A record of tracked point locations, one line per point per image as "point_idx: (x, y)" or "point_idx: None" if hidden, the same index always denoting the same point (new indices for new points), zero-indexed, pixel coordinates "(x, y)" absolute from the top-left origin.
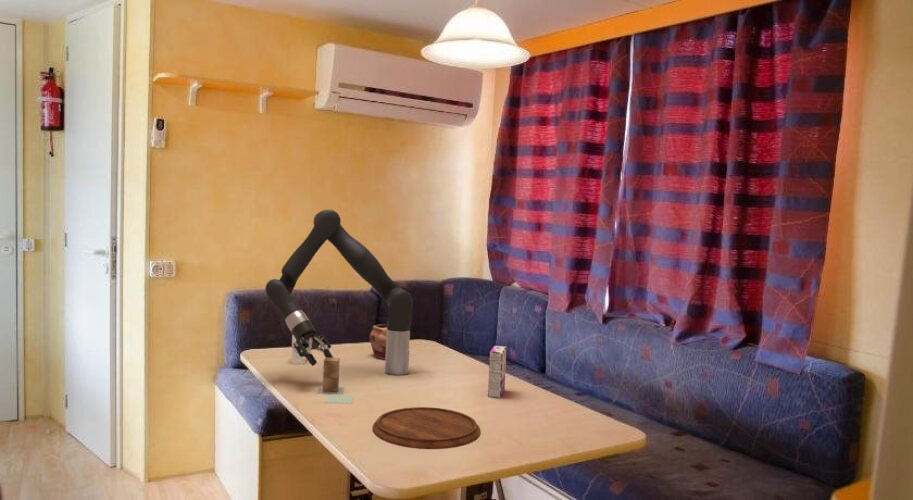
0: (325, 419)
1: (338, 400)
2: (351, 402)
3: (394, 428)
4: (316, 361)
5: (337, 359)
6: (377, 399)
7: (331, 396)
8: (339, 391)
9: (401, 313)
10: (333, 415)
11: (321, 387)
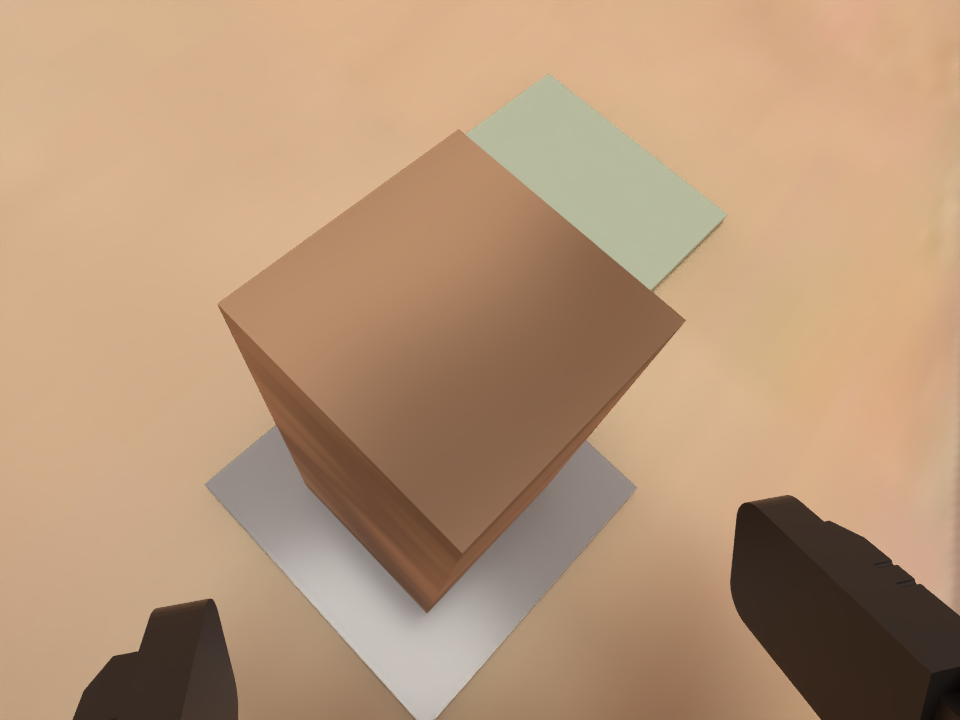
0: (875, 9)
1: (597, 179)
2: (544, 84)
3: None
4: (758, 502)
5: (381, 222)
6: (287, 43)
7: None
8: None
9: None
10: (795, 23)
11: (435, 662)
